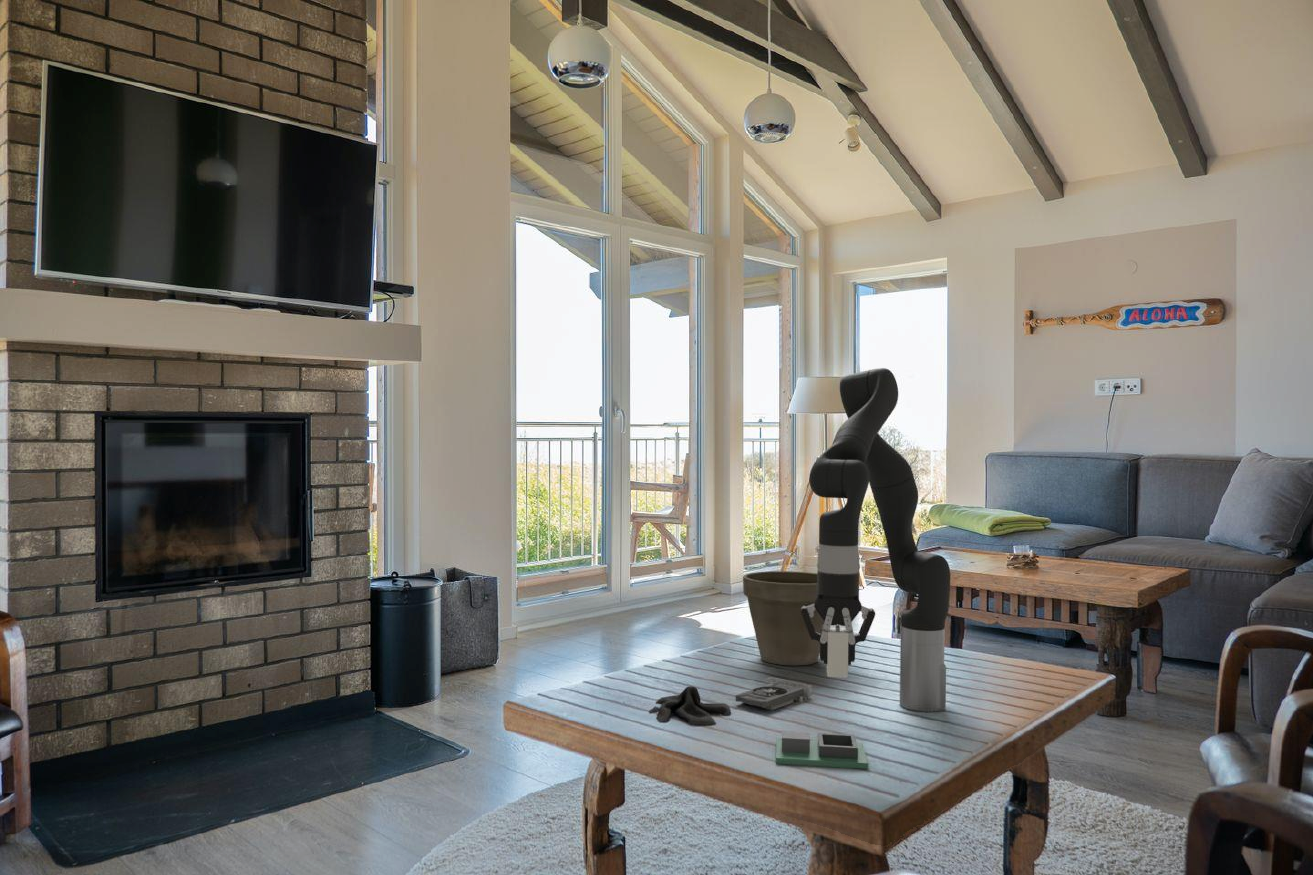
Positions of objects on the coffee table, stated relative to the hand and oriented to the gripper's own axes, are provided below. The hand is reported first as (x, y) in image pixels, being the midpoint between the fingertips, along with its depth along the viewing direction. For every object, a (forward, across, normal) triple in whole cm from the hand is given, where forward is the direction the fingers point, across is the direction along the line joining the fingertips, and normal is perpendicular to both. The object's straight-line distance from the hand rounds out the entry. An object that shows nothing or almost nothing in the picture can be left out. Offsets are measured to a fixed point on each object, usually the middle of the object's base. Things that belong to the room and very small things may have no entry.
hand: (837, 663), depth 173 cm
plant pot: (+17, +8, -74) cm, 76 cm away
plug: (+2, 0, 0) cm, 2 cm away
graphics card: (+18, +13, -34) cm, 41 cm away
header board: (+17, +3, 0) cm, 17 cm away
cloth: (+18, +30, -22) cm, 41 cm away
